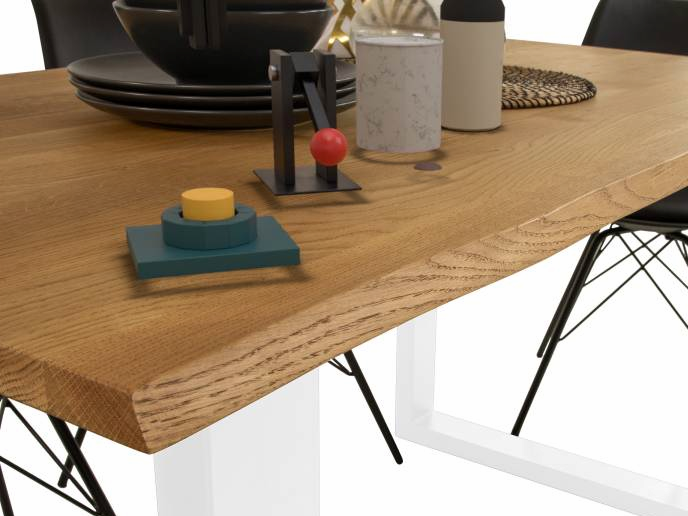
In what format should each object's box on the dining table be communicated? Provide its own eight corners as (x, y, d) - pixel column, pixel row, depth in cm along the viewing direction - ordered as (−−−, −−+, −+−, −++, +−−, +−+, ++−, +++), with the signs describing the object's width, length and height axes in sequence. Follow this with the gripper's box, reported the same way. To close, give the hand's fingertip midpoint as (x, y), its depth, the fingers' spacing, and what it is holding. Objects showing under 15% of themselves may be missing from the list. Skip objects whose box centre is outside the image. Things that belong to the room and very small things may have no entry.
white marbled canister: (449, 161, 109) (451, 44, 104) (361, 162, 107) (360, 44, 103) (432, 143, 117) (434, 35, 113) (350, 144, 116) (349, 34, 111)
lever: (349, 172, 86) (354, 144, 84) (312, 174, 85) (317, 146, 83) (314, 76, 94) (318, 47, 91) (280, 77, 93) (283, 48, 90)
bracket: (362, 200, 92) (361, 57, 88) (275, 206, 89) (270, 59, 85) (333, 176, 101) (330, 45, 96) (253, 181, 98) (247, 46, 94)
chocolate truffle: (438, 173, 103) (438, 158, 103) (445, 180, 100) (446, 164, 100) (409, 174, 102) (409, 159, 102) (416, 181, 100) (417, 165, 99)
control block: (139, 293, 67) (134, 236, 66) (127, 254, 75) (123, 203, 74) (300, 277, 71) (299, 222, 70) (273, 242, 79) (271, 192, 78)
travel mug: (464, 134, 123) (469, -20, 117) (425, 124, 129) (427, -23, 123) (513, 128, 128) (519, -21, 122) (473, 118, 134) (477, -24, 127)
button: (186, 226, 70) (185, 201, 69) (179, 212, 73) (178, 189, 72) (238, 221, 71) (237, 197, 71) (229, 209, 74) (228, 186, 74)
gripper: (287, -243, 68) (299, 38, 74) (49, -259, 62) (85, 45, 69) (315, -261, 61) (326, 49, 67) (53, -280, 56) (91, 58, 62)
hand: (204, 46), depth 68 cm, fingers closed
